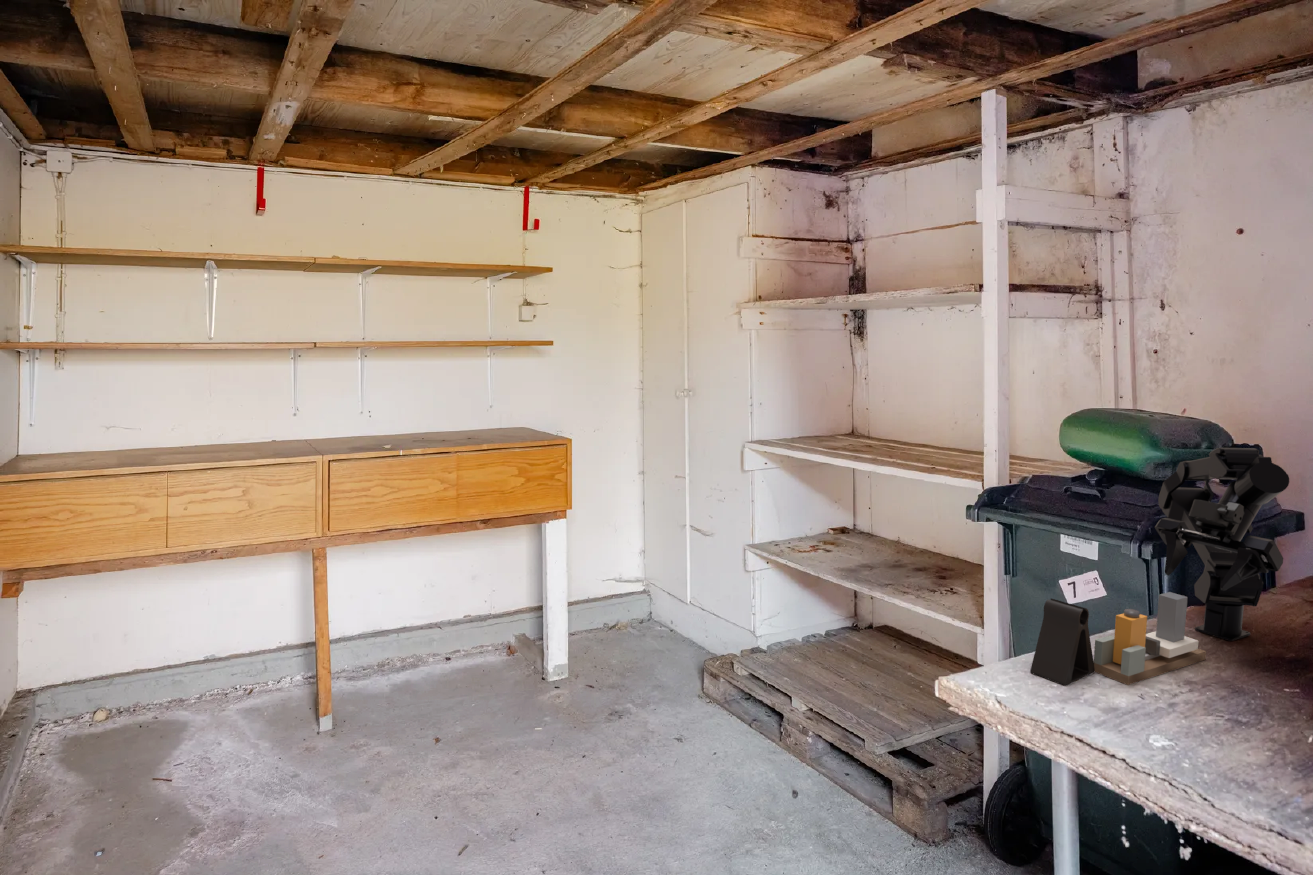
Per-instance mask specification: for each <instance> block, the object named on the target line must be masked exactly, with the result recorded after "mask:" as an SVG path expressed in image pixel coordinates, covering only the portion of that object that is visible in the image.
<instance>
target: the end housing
mask: <svg viewBox="0 0 1313 875" xmlns="http://www.w3.org/2000/svg"><path fill="white" fill-rule="evenodd" d="M1114 637H1115V635H1106V636H1104V637H1099V638H1097V639H1095V640H1094V650H1093V651H1094V652H1093V662H1094V663H1096V664H1099V665H1104V664H1107V663H1111V662H1113V652H1114ZM1145 651H1146V648H1145V647H1142V646H1139V645H1136V646H1133V647H1129V648H1126V649H1123V650H1122V661H1121V674H1124V675H1126V676H1131V675H1134V674H1137V673H1140V672H1143V671H1144V665H1145Z"/></svg>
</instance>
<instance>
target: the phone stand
mask: <svg viewBox="0 0 1313 875" xmlns="http://www.w3.org/2000/svg"><path fill="white" fill-rule="evenodd" d="M1042 617H1043V619H1042V623H1041V627H1040V630H1039V633H1038V634H1039V635H1038V638H1037V642H1036V646H1035V650H1034V654H1033V659H1032V662H1031V666H1030V670H1029V672H1030V674H1033V675H1036V676H1038V677H1041V678H1044V679H1046V680H1049V681H1052V682H1055V683H1057V684H1060V685H1062V686H1068V685H1071V684H1072V683H1075V682H1077V681H1079V680H1081V679H1084V678H1087V677H1088V676H1089V675H1092V674H1094V673H1095V672H1094V671H1095V668H1094V654H1093V650H1092V644H1091V638H1090V637H1091V636H1090V635H1091V634H1090V630H1089V629H1090V628H1089V617H1090V612H1089V609H1088V608H1086V607H1083V606H1079V605H1077V604H1072V603H1069V602H1065V601H1061V600H1059V599H1055V598H1050V599H1046V601H1045V603H1044V605H1043V616H1042Z"/></svg>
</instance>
